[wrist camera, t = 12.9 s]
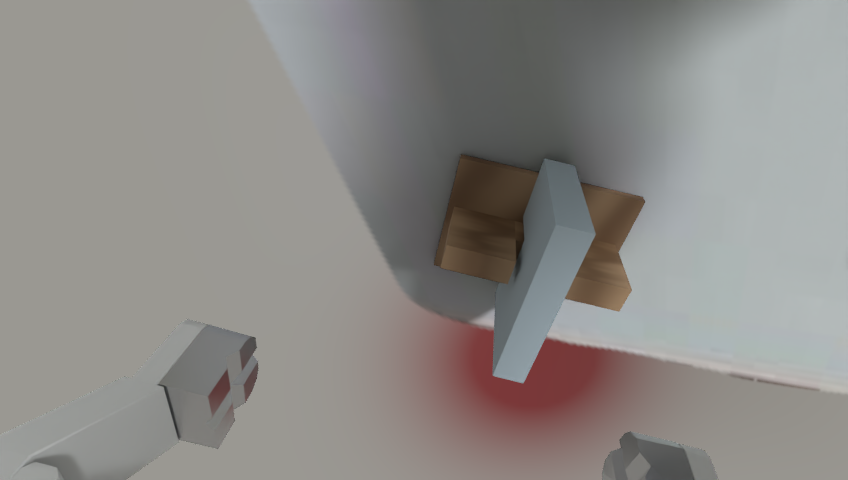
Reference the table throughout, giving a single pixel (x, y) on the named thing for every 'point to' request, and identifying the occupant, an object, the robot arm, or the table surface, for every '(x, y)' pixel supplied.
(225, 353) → the robot arm
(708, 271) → the table surface
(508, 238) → the jig
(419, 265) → the table surface
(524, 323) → the slotted plate
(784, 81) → the table surface
